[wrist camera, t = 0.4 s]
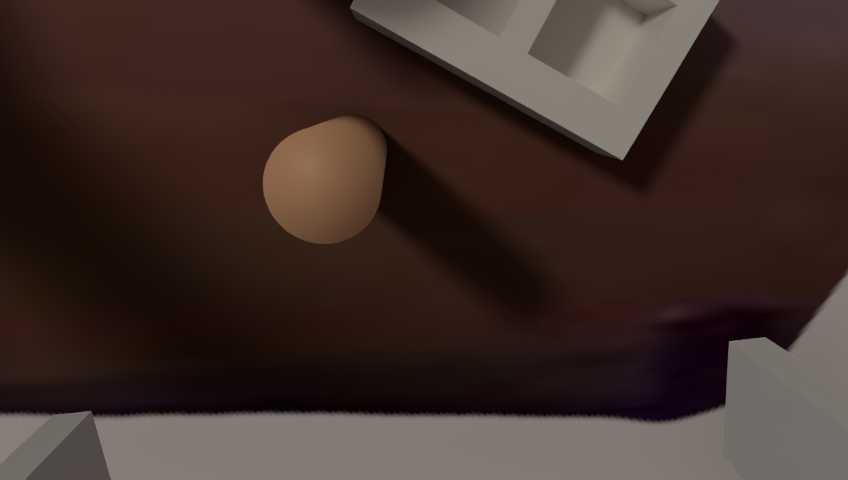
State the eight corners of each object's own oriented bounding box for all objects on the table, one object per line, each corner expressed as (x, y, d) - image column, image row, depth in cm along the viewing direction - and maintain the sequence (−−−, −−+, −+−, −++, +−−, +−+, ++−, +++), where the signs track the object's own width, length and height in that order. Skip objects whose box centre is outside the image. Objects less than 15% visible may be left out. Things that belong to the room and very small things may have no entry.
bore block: (355, 19, 30) (349, 7, 26) (440, -164, 28) (447, -205, 24) (596, 152, 33) (622, 160, 29) (689, -6, 31) (731, -20, 27)
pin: (307, 163, 32) (244, 212, 19) (337, 101, 31) (292, 105, 18) (368, 194, 33) (350, 262, 19) (399, 134, 32) (401, 161, 19)
